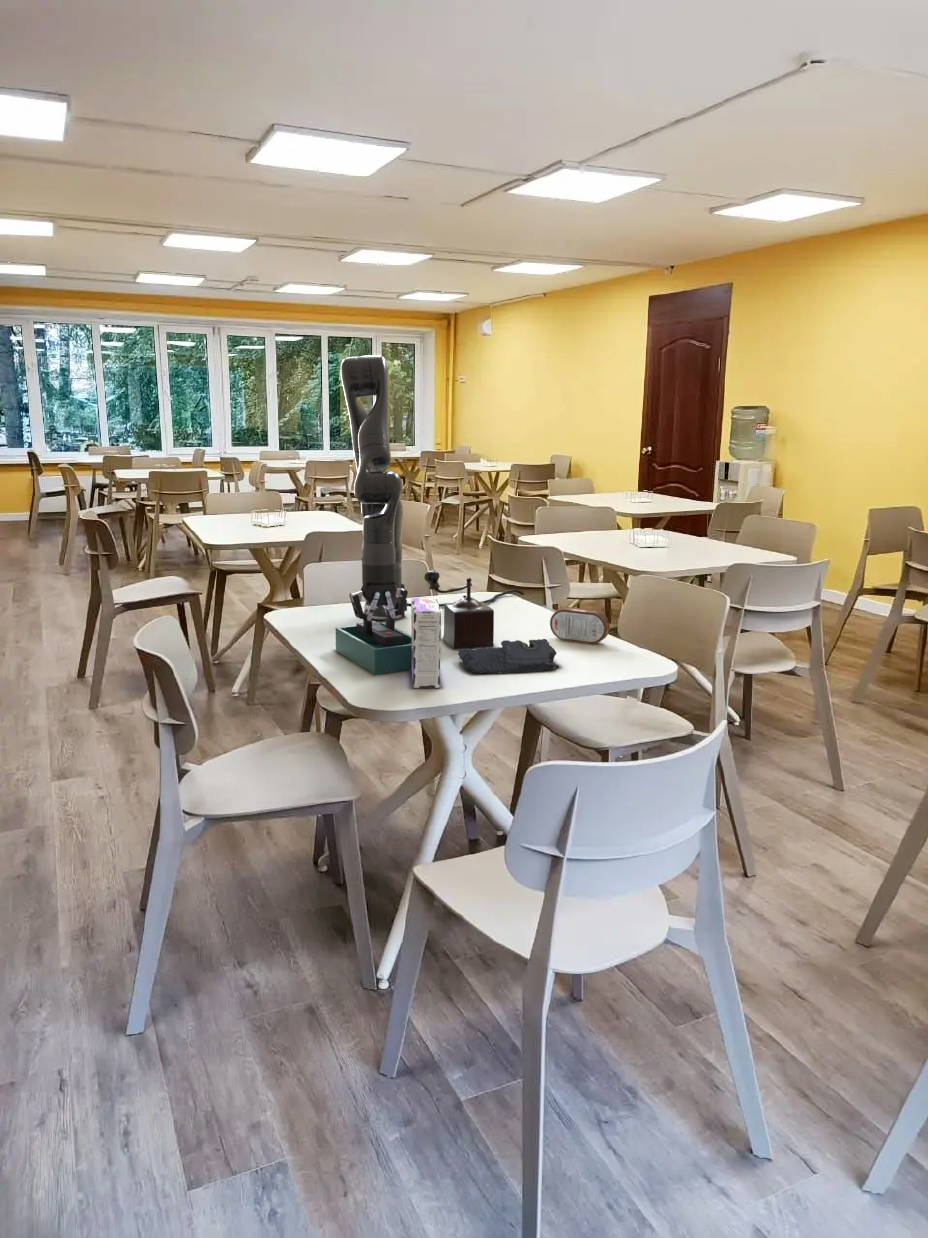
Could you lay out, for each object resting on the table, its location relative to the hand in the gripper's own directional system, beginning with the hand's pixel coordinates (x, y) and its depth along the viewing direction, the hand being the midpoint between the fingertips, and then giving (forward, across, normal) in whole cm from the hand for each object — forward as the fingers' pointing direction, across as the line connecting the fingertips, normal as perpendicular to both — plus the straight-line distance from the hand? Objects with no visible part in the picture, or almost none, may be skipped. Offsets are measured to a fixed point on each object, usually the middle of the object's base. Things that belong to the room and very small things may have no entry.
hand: (379, 634), depth 203 cm
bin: (+6, 0, 0) cm, 6 cm away
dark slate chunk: (+6, +24, -17) cm, 30 cm away
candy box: (+6, +2, -19) cm, 20 cm away
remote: (+1, 0, 0) cm, 1 cm away
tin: (+6, +51, -8) cm, 52 cm away
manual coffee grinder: (+6, +23, +4) cm, 24 cm away
